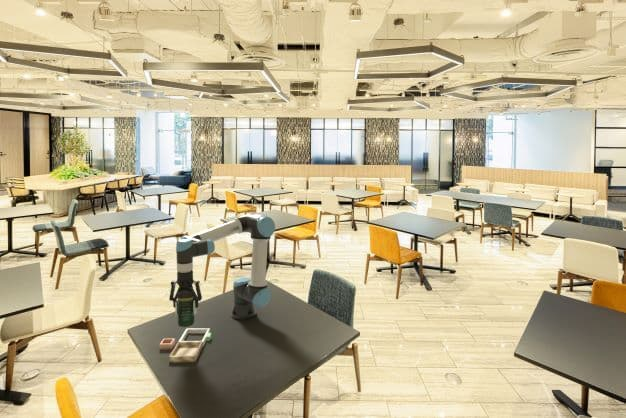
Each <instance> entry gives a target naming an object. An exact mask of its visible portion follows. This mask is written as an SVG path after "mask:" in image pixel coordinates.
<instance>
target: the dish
mask: <svg viewBox="0 0 626 418" xmlns="http://www.w3.org/2000/svg"><path fill="white" fill-rule="evenodd" d="M175 346H176V338H175V337H174V338H173V337H172V338H169V337H168V338H163V339H162V341H161V342H160V343H159V350H161V351H162V350H163V351H167V350H168V351H169V350H171V351H173V349H174V348H175Z"/></svg>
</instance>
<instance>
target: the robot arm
mask: <svg viewBox="0 0 626 418" xmlns="http://www.w3.org/2000/svg"><path fill="white" fill-rule="evenodd" d="M275 231H276V224H275V221H274V220H273V218H272V217H269V216H267V215H264V214H257V213H246V214H244V215H239V216H237V217H234V218H233V219H232V220H231V221H228V222H226V223H223V224H220V225H216V226H215V227H212V228H209V229H207V230H203V231H200V232H198V233H195V234H192V235H186V234H185V235H183V236H181V237H180V239H178V240H177V241H176V244H175V245H176V247H175V251H176V252H175V253H176V270H177V271H176V278H177V279H176V280H174V279H173V280H171V282H170V285H171V286H170V287H171V288H170V291H169V292H170V293H169V298H168V299H169V301H171V302H173V303H172V304H173V307H172V308H175V309H174V310H175V312H174V313H175V314H174V315H177V316H178V294H177V293H178V292H179V291H180V290H181V289H188V290H189V291H192V292H193V299H194V302H193V311H194V316H196V314H197V313H198V312H197V309H198V308H199V302H201V301H202V299H203V296H202V292H201V288H200V282H201V281H200V280H195V279H194V270H193V269H194V265H193V264H194V262H193V261H194V258H196V257H201V256H202V257H203V256H208V255H211V254H213V253H214V252H215V246H216V245H215V242H217V241H220V240H221V239H225V238H227V237H230V236H232V235H236V234H243V233H250V239H251V240H252V253H251V254H252V255H251V270H250V272H251V273H250V277H241V278H237V279H235V280H234V281H233V286H232V289H233V304H232V308H231V311H230V313H231V314H230V315H231V317H232V318H233V319H235V320H248V319H251V318H254V317H255V316H256V313H257V311H256V308H255V307H258V308H262V307H264V306H266V305H267V304H268V303H269V301H270V300H271V297H272V293H271V290H270V289H269V288H268V282H267V280H266V279H267V278H266V276H267V275H266V274H267V259H268V242H269V241H270V239H271V236H273V235H274V233H275ZM193 285H194V286H195V289H194V287H193ZM176 286H178V288H177V290H176ZM175 290H176V291H175ZM195 291H196V292H195ZM175 292H176V293H175Z"/></svg>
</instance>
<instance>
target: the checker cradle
mask: <svg viewBox="0 0 626 418" xmlns="http://www.w3.org/2000/svg"><path fill="white" fill-rule="evenodd" d="M188 334H204V335H203V338H202V339H201V341H203V347H205V345H206V342H210V341H211V339H212V332H211V328H209V327H208V328H207V327H206V328H204V327H203V328H202V327H201V328H198V327H197V328H194V327H191V328H190V327H189V328H188V327H186V328H185V330H184V331H183V333H182V335H181V337H180V338H179V340H178V341H177V343H178V342H179V341H185V339H186V338H187V336H188Z"/></svg>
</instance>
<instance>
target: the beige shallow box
mask: <svg viewBox="0 0 626 418" xmlns="http://www.w3.org/2000/svg"><path fill="white" fill-rule="evenodd" d="M178 341H179V340H178ZM178 341H177V343H175V345H174V347H173V348H172V350H171V352H170V353H169V355H168V362H169V363H196V362H197V360H198V357H199V356H200V354H201V351H202V349H203V347H204V346H203V341H202V340H184V341H179V342H178Z"/></svg>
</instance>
